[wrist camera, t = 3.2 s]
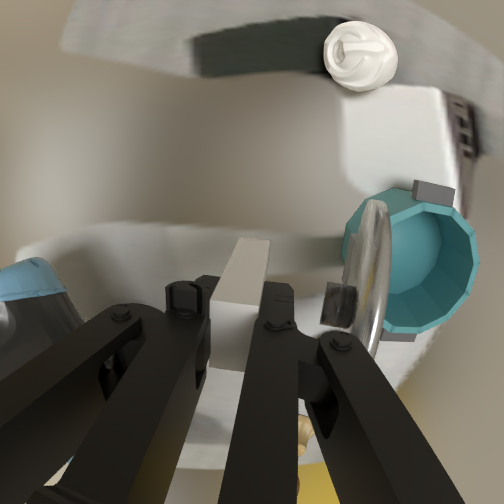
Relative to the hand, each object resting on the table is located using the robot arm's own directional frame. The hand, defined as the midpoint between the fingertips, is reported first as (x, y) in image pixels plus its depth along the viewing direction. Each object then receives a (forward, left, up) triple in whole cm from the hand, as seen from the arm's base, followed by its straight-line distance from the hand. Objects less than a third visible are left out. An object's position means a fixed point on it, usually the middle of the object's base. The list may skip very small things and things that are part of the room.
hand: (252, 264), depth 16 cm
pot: (+16, -4, -21) cm, 27 cm away
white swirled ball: (+8, +17, -21) cm, 28 cm away
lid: (+8, -4, -4) cm, 10 cm away
